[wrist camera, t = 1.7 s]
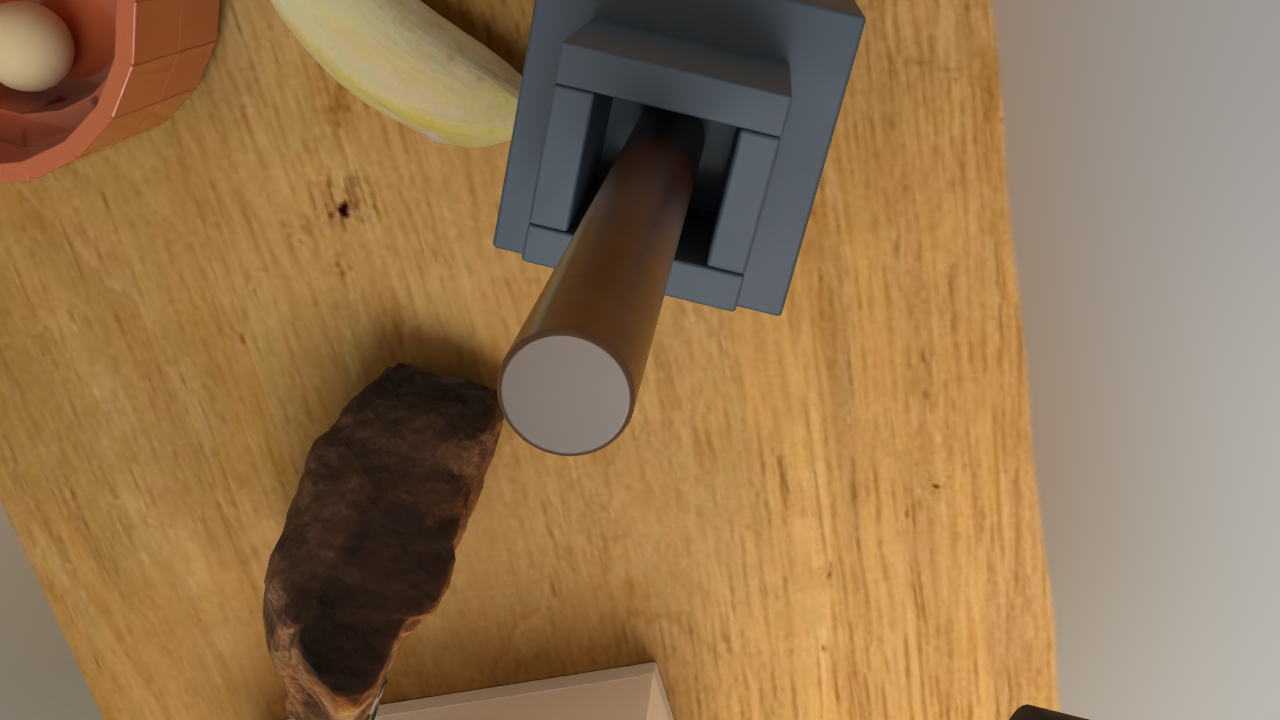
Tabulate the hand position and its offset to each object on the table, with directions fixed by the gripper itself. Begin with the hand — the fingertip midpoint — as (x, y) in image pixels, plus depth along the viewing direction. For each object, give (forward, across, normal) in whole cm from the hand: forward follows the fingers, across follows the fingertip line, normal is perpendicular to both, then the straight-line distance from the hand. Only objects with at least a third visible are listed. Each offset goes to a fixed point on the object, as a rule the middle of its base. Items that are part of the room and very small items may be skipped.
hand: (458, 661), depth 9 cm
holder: (+31, 0, 0) cm, 31 cm away
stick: (+19, 0, 0) cm, 19 cm away
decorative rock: (+31, +7, +18) cm, 37 cm away
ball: (+29, +21, +4) cm, 36 cm away
